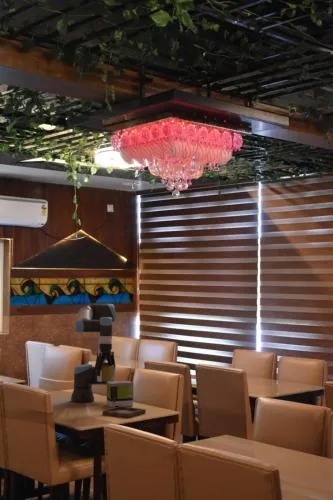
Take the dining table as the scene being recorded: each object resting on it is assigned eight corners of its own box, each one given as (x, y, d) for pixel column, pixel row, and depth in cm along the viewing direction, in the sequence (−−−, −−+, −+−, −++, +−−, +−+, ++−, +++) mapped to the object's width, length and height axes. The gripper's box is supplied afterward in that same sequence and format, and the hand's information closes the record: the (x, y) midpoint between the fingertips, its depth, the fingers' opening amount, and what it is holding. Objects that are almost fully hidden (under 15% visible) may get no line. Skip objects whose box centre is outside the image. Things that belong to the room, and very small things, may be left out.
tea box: (129, 403, 426) (129, 380, 427) (133, 406, 417) (133, 382, 418) (106, 404, 422) (106, 381, 422) (109, 407, 412) (110, 383, 413)
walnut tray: (102, 414, 388) (102, 410, 388) (120, 410, 403) (120, 406, 403) (127, 418, 378) (128, 413, 378) (145, 413, 393) (145, 409, 394)
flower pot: (109, 382, 394) (110, 366, 395) (95, 381, 396) (95, 366, 397) (114, 380, 403) (114, 365, 404) (100, 379, 405) (100, 364, 406)
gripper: (98, 344, 390) (98, 382, 388) (122, 342, 409) (121, 379, 407) (88, 343, 394) (88, 381, 392) (112, 341, 413) (111, 378, 411)
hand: (105, 380), depth 400 cm, fingers closed on flower pot, 10 cm apart
